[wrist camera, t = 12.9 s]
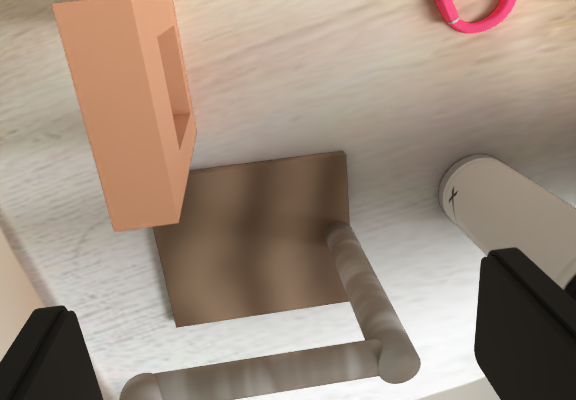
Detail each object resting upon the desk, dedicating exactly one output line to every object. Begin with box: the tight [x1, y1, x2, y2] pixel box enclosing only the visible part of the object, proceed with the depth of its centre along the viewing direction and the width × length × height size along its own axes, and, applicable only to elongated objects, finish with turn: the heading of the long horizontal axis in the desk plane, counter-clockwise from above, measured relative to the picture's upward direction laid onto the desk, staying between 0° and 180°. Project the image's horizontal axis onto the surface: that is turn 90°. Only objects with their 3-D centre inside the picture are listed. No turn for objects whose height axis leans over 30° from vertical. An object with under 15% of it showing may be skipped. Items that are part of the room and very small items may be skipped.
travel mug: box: [438, 154, 576, 301], centre depth 33 cm, size 6×7×20 cm
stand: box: [120, 151, 421, 400], centre depth 34 cm, size 16×14×18 cm
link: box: [52, 0, 197, 232], centre depth 28 cm, size 3×10×16 cm, turn 6°
